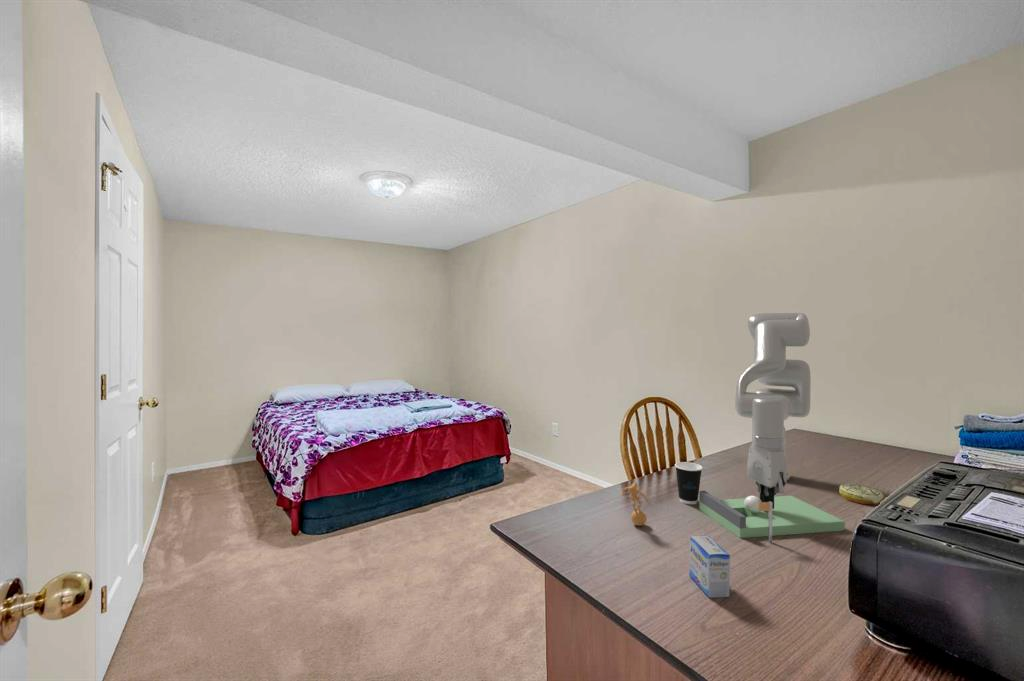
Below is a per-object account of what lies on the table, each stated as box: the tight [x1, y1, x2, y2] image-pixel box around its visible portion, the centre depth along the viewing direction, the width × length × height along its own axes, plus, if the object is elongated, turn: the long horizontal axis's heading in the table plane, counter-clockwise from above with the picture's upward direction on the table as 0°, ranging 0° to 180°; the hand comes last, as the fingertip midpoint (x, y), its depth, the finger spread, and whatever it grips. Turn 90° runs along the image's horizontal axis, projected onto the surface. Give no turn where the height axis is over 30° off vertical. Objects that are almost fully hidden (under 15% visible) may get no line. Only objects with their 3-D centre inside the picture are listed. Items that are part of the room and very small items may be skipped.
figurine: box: [621, 482, 651, 527], centre depth 116 cm, size 8×6×12 cm
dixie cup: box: [674, 461, 703, 505], centre depth 133 cm, size 8×8×11 cm
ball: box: [744, 495, 762, 513], centre depth 119 cm, size 4×4×4 cm
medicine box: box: [688, 535, 731, 599], centre depth 88 cm, size 8×4×9 cm, turn 5°
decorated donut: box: [838, 483, 885, 506], centre depth 134 cm, size 10×11×4 cm
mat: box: [698, 490, 846, 539], centre depth 120 cm, size 18×30×5 cm, turn 98°
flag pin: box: [759, 501, 773, 544], centre depth 107 cm, size 1×4×10 cm, turn 99°
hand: (766, 507), depth 120 cm, fingers closed
